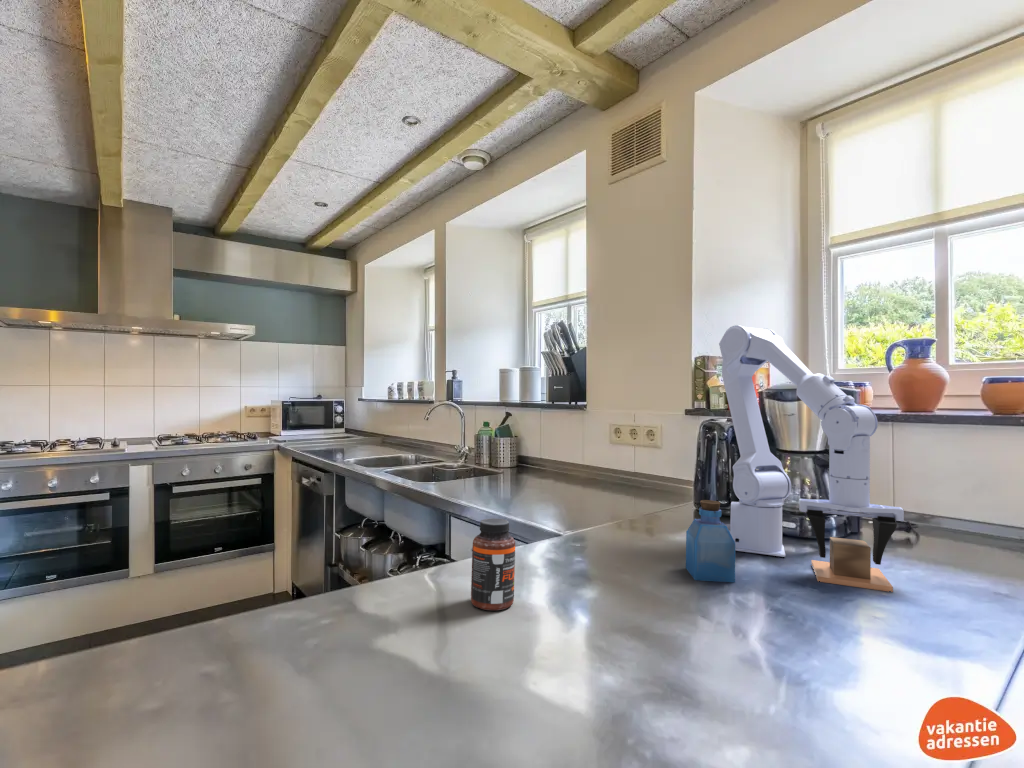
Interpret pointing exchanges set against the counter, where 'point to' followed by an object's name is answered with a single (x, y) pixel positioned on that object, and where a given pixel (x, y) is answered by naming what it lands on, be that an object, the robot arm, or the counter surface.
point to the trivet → (826, 575)
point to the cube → (850, 558)
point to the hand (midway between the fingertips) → (849, 559)
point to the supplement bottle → (493, 566)
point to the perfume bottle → (710, 546)
